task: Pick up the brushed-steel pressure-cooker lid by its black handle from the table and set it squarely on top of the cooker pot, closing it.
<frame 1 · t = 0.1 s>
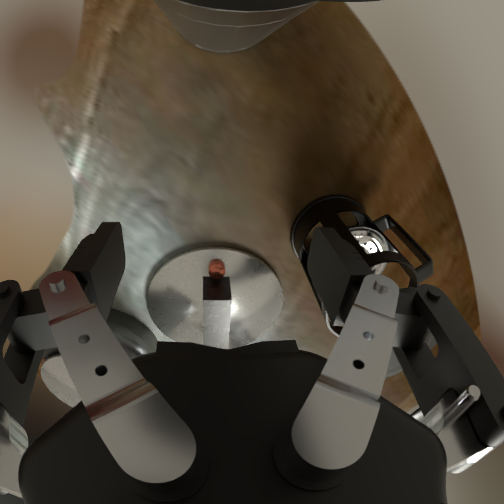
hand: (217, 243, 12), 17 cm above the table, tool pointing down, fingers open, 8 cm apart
french press: (333, 229, 33), on the table
cooker pot: (109, 344, 39), on the table
cooker lid: (214, 301, 37), on the table
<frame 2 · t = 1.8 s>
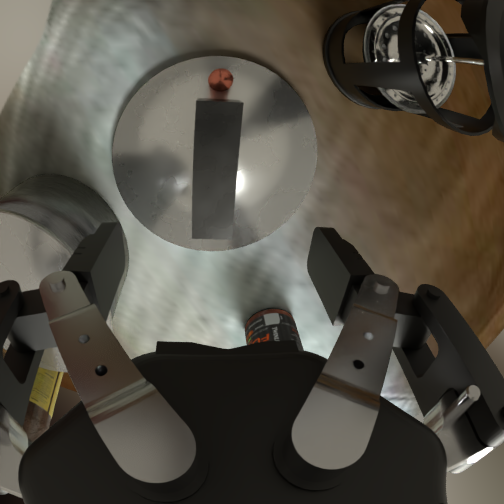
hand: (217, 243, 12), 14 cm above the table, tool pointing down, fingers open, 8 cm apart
sauce bottle: (51, 344, 33), on the table
french press: (375, 57, 20), on the table
cooker pot: (58, 248, 26), on the table
cooker lid: (214, 156, 24), on the table
supplement bottle: (268, 323, 35), on the table
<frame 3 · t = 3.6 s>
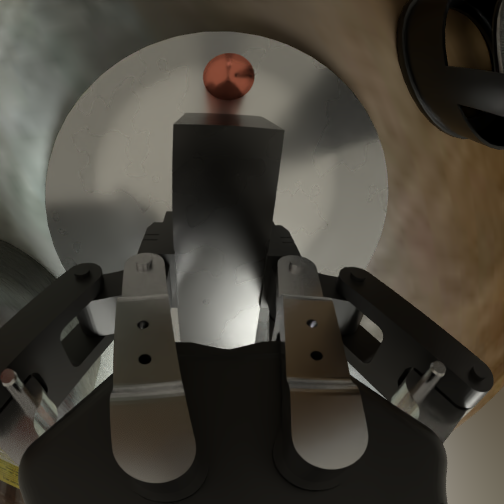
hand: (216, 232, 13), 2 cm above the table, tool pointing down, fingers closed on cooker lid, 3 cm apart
sauce bottle: (28, 411, 24), on the table
french press: (461, 60, 11), on the table
cooker pot: (10, 326, 16), on the table
cooker lid: (216, 215, 14), on the table, touching gripper
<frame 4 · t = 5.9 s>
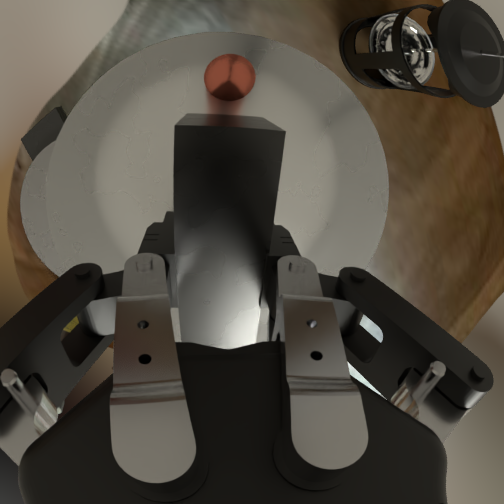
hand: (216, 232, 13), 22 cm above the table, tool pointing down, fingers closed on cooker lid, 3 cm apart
french press: (377, 51, 27), on the table
cooker pot: (116, 188, 32), on the table
cooker lid: (217, 216, 14), point 20 cm above the table, touching gripper
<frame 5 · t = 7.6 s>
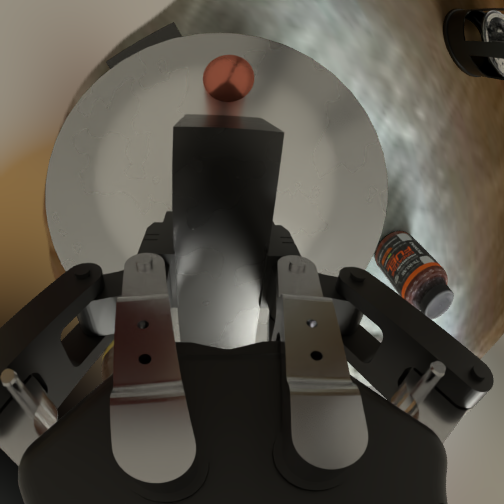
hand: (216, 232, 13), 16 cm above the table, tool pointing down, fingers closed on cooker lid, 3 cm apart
sauce bottle: (150, 287, 34), on the table
french press: (469, 41, 21), on the table
cooker pot: (213, 152, 27), on the table
cooker lid: (216, 216, 14), point 15 cm above the table, touching gripper
supplement bottle: (391, 248, 36), on the table
when the fingers open (12 cm above the table, at t = 8.6 s): cooker lid drops 1 cm, resting on cooker pot.
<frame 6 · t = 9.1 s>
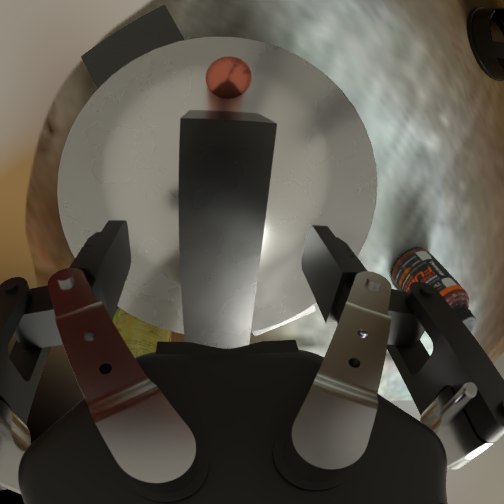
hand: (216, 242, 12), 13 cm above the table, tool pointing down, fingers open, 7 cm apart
sauce bottle: (145, 310, 30), on the table
french press: (492, 42, 18), on the table
cooker pot: (213, 163, 23), on the table
cooker lid: (216, 205, 15), point 9 cm above the table, touching cooker pot
supplement bottle: (408, 266, 32), on the table
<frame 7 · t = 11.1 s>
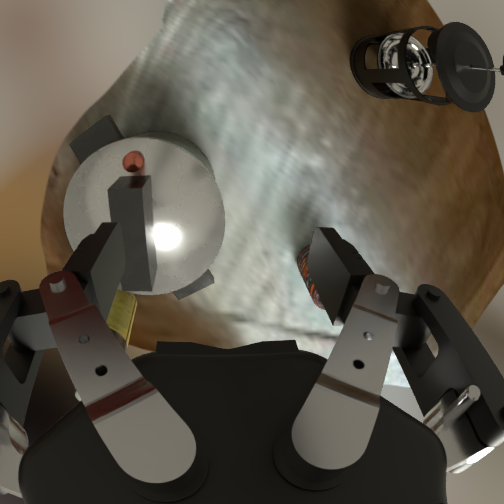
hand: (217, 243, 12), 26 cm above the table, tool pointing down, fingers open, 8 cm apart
sauce bottle: (120, 291, 43), on the table
french press: (382, 65, 31), on the table
cooker pot: (154, 192, 36), on the table
cooker lid: (141, 220, 29), point 9 cm above the table, touching cooker pot
supplement bottle: (314, 258, 45), on the table
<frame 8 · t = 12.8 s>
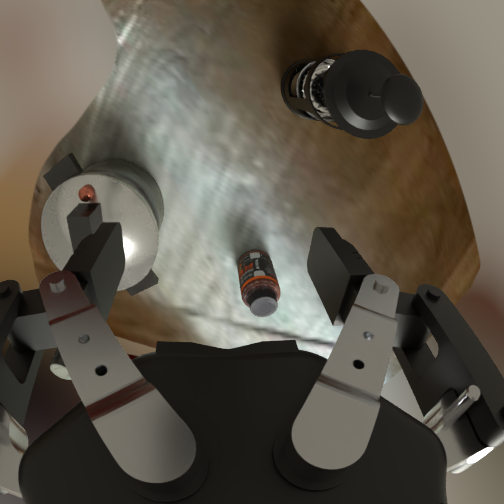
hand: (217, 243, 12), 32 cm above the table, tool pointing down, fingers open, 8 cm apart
sauce bottle: (93, 286, 50), on the table
french press: (315, 87, 38), on the table
cooker pot: (115, 207, 43), on the table
cooker lid: (97, 234, 35), point 9 cm above the table, touching cooker pot
supplement bottle: (253, 262, 52), on the table
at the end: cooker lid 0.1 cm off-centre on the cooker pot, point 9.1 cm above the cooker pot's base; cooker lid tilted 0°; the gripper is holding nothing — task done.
